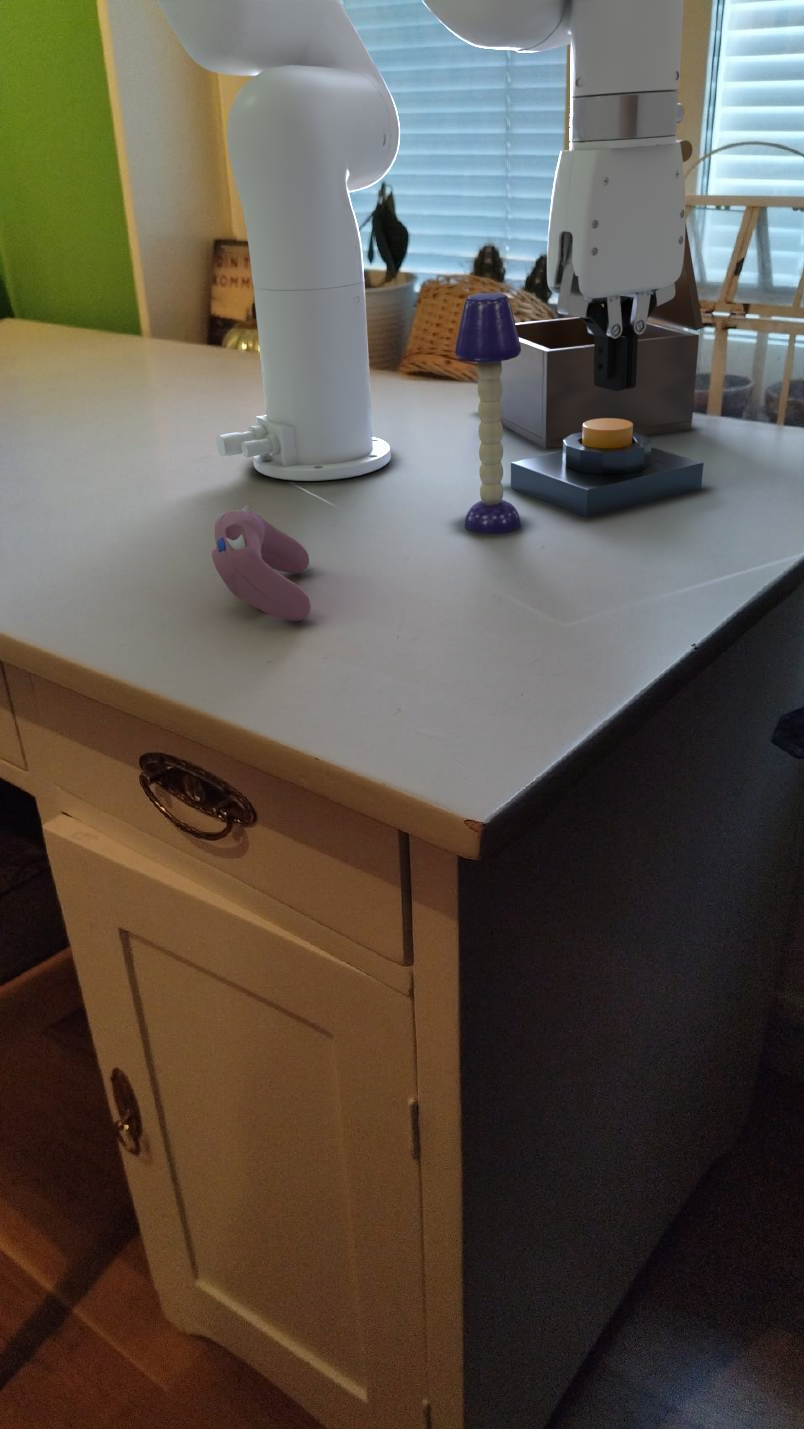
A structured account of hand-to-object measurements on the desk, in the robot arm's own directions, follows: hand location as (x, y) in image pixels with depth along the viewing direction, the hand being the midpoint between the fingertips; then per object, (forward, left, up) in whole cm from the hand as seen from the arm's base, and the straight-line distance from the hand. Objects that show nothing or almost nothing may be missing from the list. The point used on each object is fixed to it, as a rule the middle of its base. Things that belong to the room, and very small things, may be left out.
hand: (614, 386), depth 87 cm
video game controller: (-33, -5, -9) cm, 35 cm away
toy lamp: (-13, -2, -9) cm, 16 cm away
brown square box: (+13, +19, -8) cm, 25 cm away
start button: (0, 0, -5) cm, 5 cm away
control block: (0, 0, -8) cm, 8 cm away
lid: (+18, +18, +9) cm, 27 cm away
